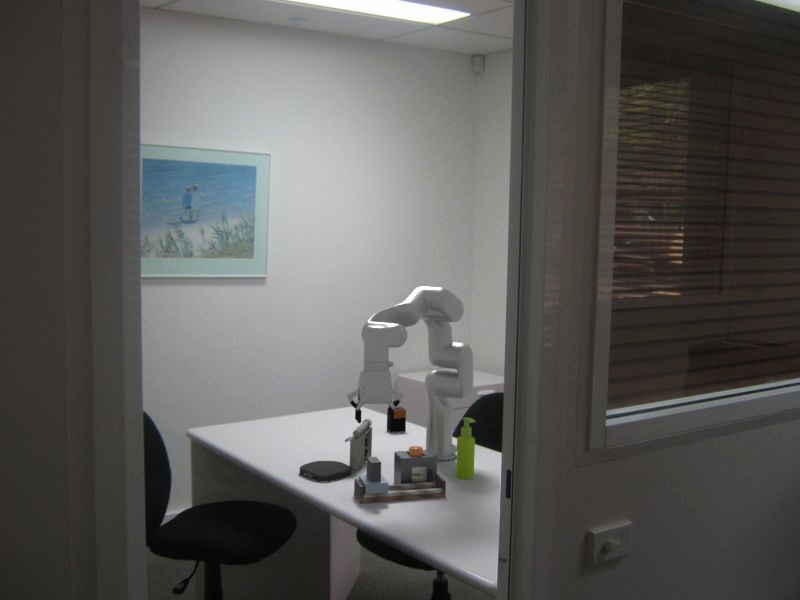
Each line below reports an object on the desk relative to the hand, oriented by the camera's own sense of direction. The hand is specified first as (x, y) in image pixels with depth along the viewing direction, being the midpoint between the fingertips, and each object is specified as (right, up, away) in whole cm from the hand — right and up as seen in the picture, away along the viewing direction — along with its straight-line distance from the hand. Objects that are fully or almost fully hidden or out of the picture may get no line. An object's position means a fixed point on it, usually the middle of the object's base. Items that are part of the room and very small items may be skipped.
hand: (374, 421), depth 245 cm
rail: (+8, -23, +3) cm, 25 cm away
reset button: (+13, -15, +14) cm, 24 cm away
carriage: (0, -21, +1) cm, 21 cm away
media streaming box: (-17, -22, +24) cm, 37 cm away
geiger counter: (-6, -20, +40) cm, 45 cm away
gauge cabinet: (+13, -22, +15) cm, 30 cm away
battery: (+6, -17, +84) cm, 85 cm away
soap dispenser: (+30, -22, +24) cm, 44 cm away
